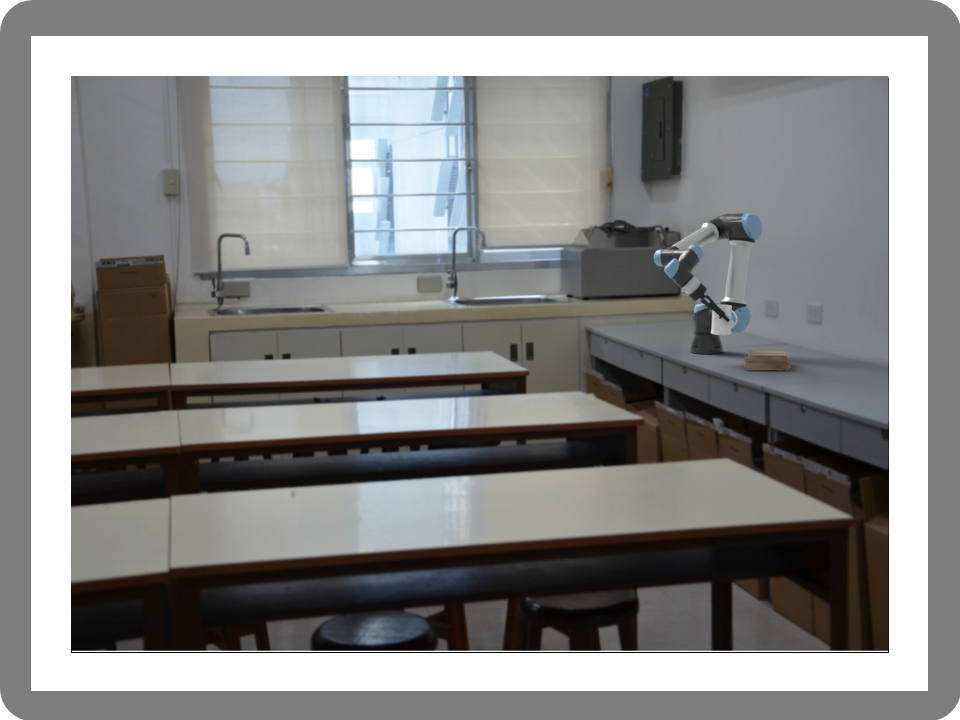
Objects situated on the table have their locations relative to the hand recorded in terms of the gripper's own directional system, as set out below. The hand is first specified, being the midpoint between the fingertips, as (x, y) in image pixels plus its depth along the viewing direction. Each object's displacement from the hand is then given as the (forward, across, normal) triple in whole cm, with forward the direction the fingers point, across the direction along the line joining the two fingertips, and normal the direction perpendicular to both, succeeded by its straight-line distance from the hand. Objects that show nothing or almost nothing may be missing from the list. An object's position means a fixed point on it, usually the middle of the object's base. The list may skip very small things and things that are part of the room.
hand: (731, 325), depth 411 cm
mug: (0, 0, -5) cm, 5 cm away
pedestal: (+21, +12, -3) cm, 24 cm away
